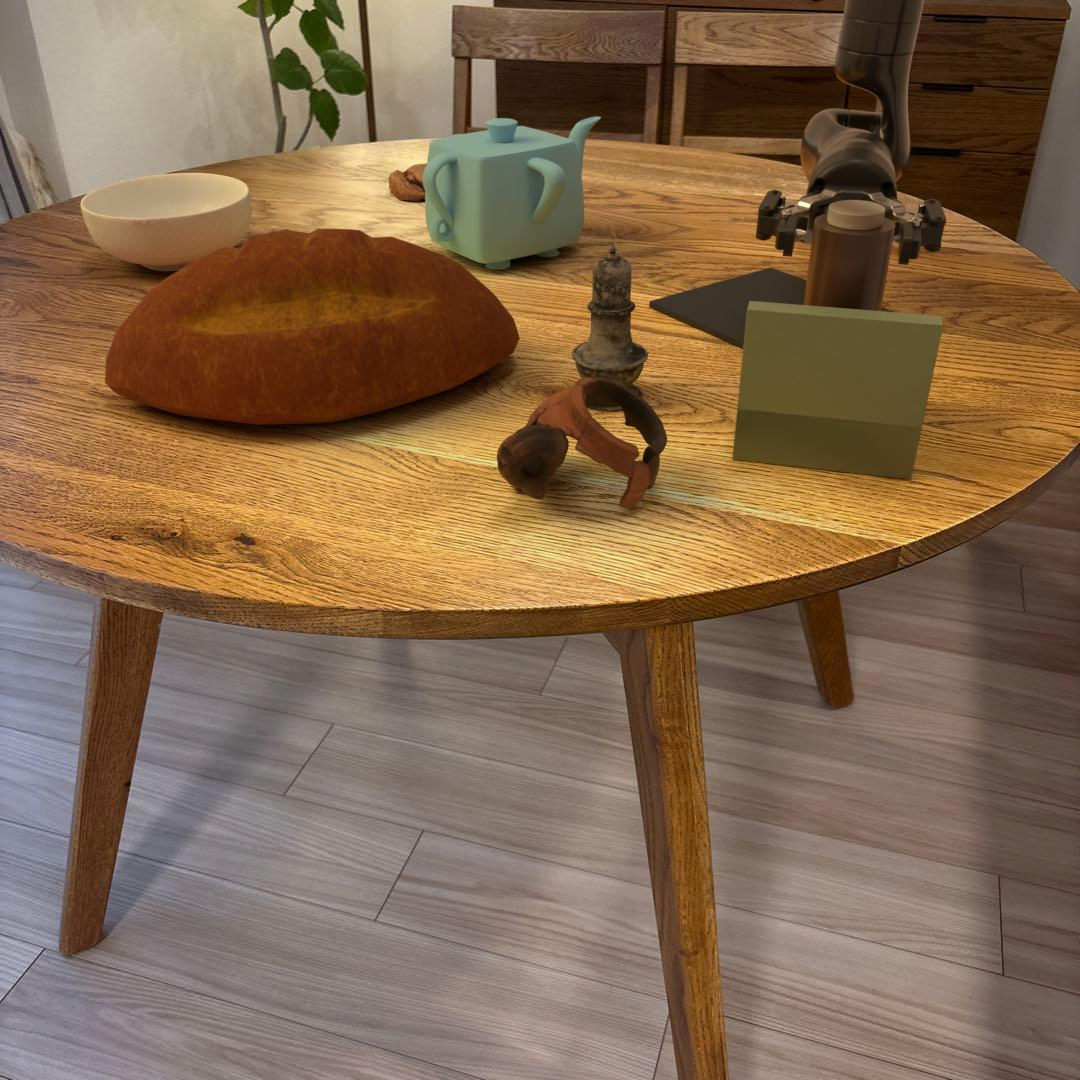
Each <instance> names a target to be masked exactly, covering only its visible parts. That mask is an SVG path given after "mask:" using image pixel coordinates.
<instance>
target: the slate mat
mask: <svg viewBox="0 0 1080 1080" xmlns="http://www.w3.org/2000/svg"><path fill="white" fill-rule="evenodd" d="M806 281H807V279H804V278H802V277H799V276H797V275H793V274H791V273H789V272H785V271H782V270H779V269H777V268H774V267H771V266H770V267H766V268H764V269H763V268H762V269H759V270H756V271H752V272H750V273H746V274H742V275H738V276H735V277H732V278H731V277H730V278H728V279H724V280H720V281H717V282H713V283H710V284H706V285H702V286H699V287H695V288H691V289H688V290H685V291H680V292H677V293H674V294H671V295H667V296H662V297H660V298H656V299H652V300H649V301H648V302H649V304H648V307H649V308H651V309H653V310H655V311H657V312H658V313H659V312H660V313H662V314H664V315H666V316H669V317H670V318H673V319H675V320H677V321H679V322H682V323H685V324H686V325H688V326H691V327H692V328H693V327H694V328H695V329H698V330H700V331H702V332H704V333H706V334H709V335H711V336H713V337H715V338H718V339H720V340H723V341H725V342H727V343H729V344H732V345H734V346H736V347H738V348H740V349H743V346H744V336H745V326H746V316H747V308H748V305H749V301H757V302H770V303H783V304H795V305H803V304H804V296H805V288H806ZM881 311H885V312H895V311H894V310H891V309H888V308H885V307H883V306H881Z"/></svg>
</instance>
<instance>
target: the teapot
mask: <svg viewBox="0 0 1080 1080" xmlns="http://www.w3.org/2000/svg"><path fill="white" fill-rule="evenodd" d="M601 118H602V117H601V116H591V117H587V118H583V119H581V120H579V121H578V122H577V123H575V125H574V126H573V128H572V129H571V130H570V132H569V135H568V138H567V137H564V136H561V135H558V134H555V133H551V132H547V131H544V130H541V129H536V128H533V127H529V126H524V125H518V124H519V123H518V122H519V121H517V120H515V119H513V118H510V117H509V118H507V117H500V118H499V117H498V118H497V117H496V118H492V119H489V120H487V121H486V122H485V124H486V125H485V126H486V130H479V131H472V132H468V133H458V134H457V133H456V134H452V135H450V136H446V137H441V138H437V139H433V140H431V141H430V142H429V145H428V153H427V161H426V164H427V166H426V168H425V170H424V173H423V185H424V189H425V199H424V201H425V202H424V207H425V210H424V211H425V223H426V227H427V230H428V234H429V237H430V239H431V241H432V242H433V243H434V244H435V243H436V244H437V245H439V246H441V247H442V248H444V249H447V250H449V251H451V252H453V253H454V254H457V255H460V256H462V257H464V258H466V259H469V260H471V261H475V262H477V263H479V264H484V266H485V268H487V269H489V270H498V271H499V270H505V269H508V268H510V267H511V264H512V263H511V260H514V259H520V258H524V257H529V256H533V255H536V256H537V257H540V258H554V257H557V256H559V255H560V251H559V248H563V247H566V246H569V245H573V244H575V243H578V242H579V241H580V240H581V237H582V234H583V229H584V225H585V199H584V187H583V179H582V175H583V174H582V173H583V164H584V151H585V144H586V141H587V137H588V135H589V133H590V131H591V129H592V128H593V127H594V126H595V125H596V124H597V123H598V122H599V121H600V120H601Z"/></svg>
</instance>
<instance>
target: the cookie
mask: <svg viewBox="0 0 1080 1080" xmlns="http://www.w3.org/2000/svg"><path fill="white" fill-rule="evenodd" d="M426 166H427V163H417V164H413V165H411V166H410V167H409V168H407V169H406V170H404V171H402V170H399V169H397V170H394V171H392V172H391V173H390V174H389V176H388V189H389V191H390V194H392V195H393V196H394V197H395V198H399V200H402V201H404V200H405V201H412V202H419V201H421V200H425V189H424V185H423V173H424V170H425V168H426Z"/></svg>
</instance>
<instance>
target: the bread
mask: <svg viewBox="0 0 1080 1080" xmlns="http://www.w3.org/2000/svg"><path fill="white" fill-rule="evenodd" d="M520 339H521V338H520V334H519V332H518V327H517V325H516V322H515V318H514V317H513V315H512V314H511V313H510V311H508V309H507V308H506V307H505V305H504V304H503V303H502V302H501V301H500V299H499V298H498V297H497V295H496V294H495V293H494V292H493V291H492V290H490V289H489V288H488V287H487V286H486V285H485V284H484V283H483V282H482V281H480V280H479V279H478V278H477V277H476V276H475V275H474V274H472V273H471V272H470V271H469V270H468V269H467V268H466V267H464V265H462V263H459V262H457V261H456V260H454V259H452V258H451V257H449V256H448V255H445V254H444V253H443V254H442V253H440V252H437V251H435V250H431V249H429V248H426V247H423V246H420V245H418V244H414V243H412V242H409V241H406V240H403V239H400V238H397V237H394V236H376V237H372V236H370V235H369V234H367V233H365V232H364V231H362V230H360V229H354V228H353V229H352V228H316V229H314V230H313V231H311V232H303V231H298V230H291V229H281V230H276V231H271V232H266V233H260V234H256V235H251V236H249V237H248V238H246V239H245V240H244V242H243V244H242V245H241V247H233V248H221V249H219V250H216V251H214V252H212V253H210V254H208V255H205V256H203V257H201V258H199V259H196V260H194V261H193V262H191V263H190V264H188V265H187V266H185V267H183V268H182V269H180V270H179V271H174V272H173V273H172V274H170V275H169V276H168V277H166V278H164V279H163V280H161V281H160V282H158V283H157V284H155V285H154V286H153V287H152V288H150V289H149V291H148V292H147V293H146V294H145V295H144V297H143V298H142V299H141V300H140V301H139V303H138V304H137V305H136V306H135V308H134V309H133V310H132V311H131V312H130V313H129V315H128V316H127V317H126V319H125V320H124V321H123V322H122V323H121V325H120V326H119V327H118V328H117V329H116V331H115V333H114V335H113V339H112V342H111V345H110V347H109V349H108V352H107V356H106V358H105V373H104V383H105V384H106V386H108V388H109V389H110V390H111V391H112V392H113V393H114V394H116V395H118V396H120V397H122V398H124V399H126V400H129V401H132V402H136V403H139V404H142V405H146V406H149V407H153V408H155V409H159V410H161V411H166V412H168V413H172V414H176V415H179V416H184V417H191V418H200V419H209V420H217V421H226V422H233V423H242V424H250V425H258V426H259V425H291V424H292V425H295V424H296V425H299V424H302V425H303V424H329V423H330V424H332V423H333V424H334V423H339V422H341V421H347V420H351V419H355V418H358V417H362V416H367V415H371V414H375V413H378V412H382V411H386V410H389V409H393V408H396V407H400V406H404V405H406V404H409V403H412V402H415V401H418V400H421V399H424V398H427V397H431V396H433V395H436V394H440V393H443V392H446V391H449V390H452V389H454V388H456V387H458V386H460V385H462V384H465V383H466V382H468V381H470V380H472V379H474V378H476V377H478V376H481V375H482V374H484V373H486V372H487V371H489V370H491V369H492V368H493V367H495V366H496V365H498V364H499V363H501V362H503V361H504V360H505V359H507V358H508V357H510V356H512V355H513V354H514V352H515V351H516V348H517V345H518V344H519V341H520Z"/></svg>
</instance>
